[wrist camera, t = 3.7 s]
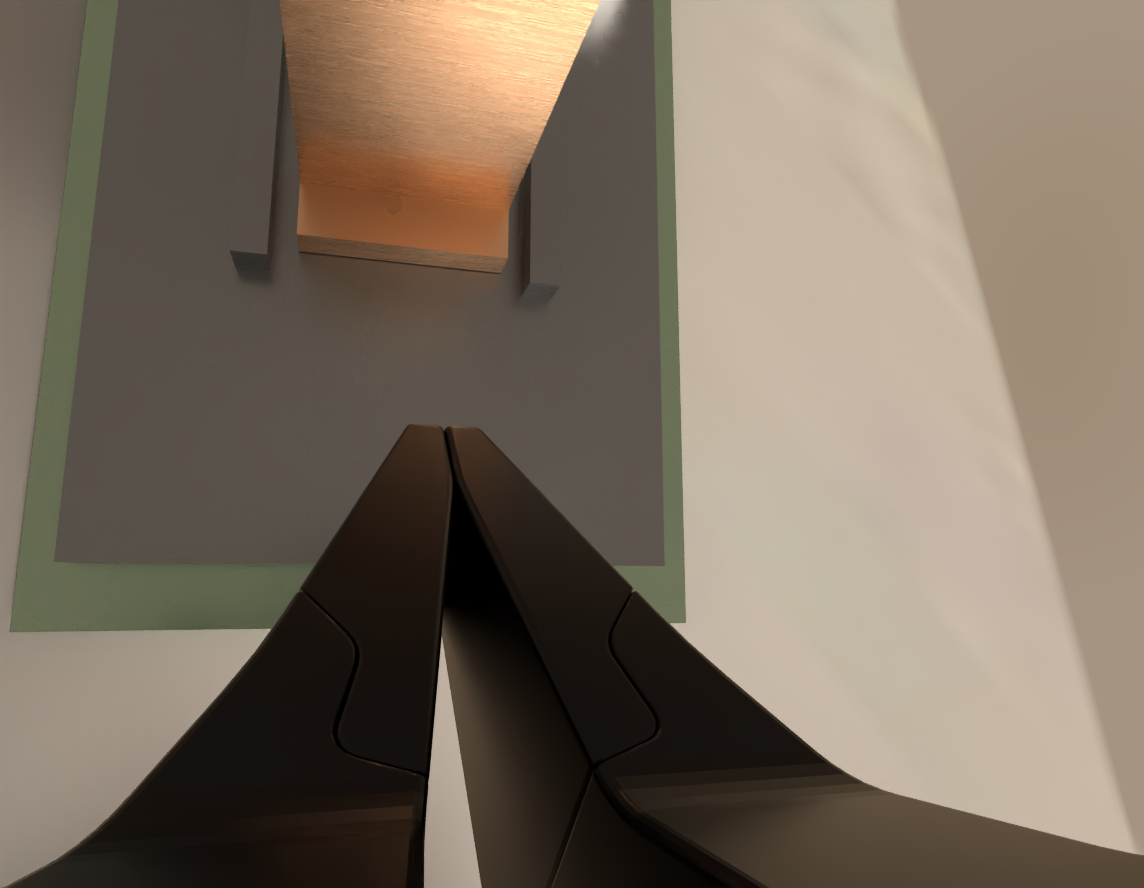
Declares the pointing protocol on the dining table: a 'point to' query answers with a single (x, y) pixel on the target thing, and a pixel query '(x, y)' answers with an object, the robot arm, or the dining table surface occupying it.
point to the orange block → (421, 120)
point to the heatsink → (332, 330)
